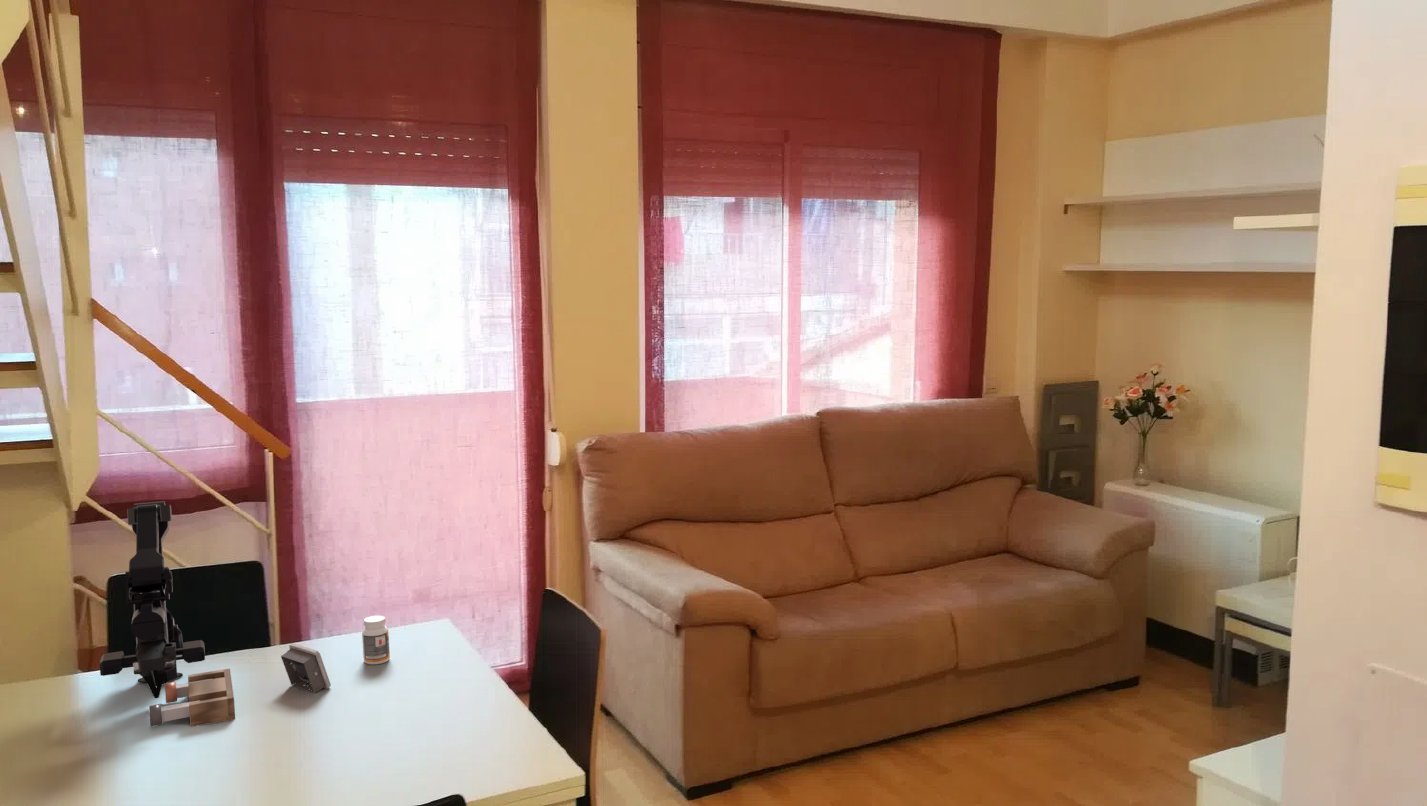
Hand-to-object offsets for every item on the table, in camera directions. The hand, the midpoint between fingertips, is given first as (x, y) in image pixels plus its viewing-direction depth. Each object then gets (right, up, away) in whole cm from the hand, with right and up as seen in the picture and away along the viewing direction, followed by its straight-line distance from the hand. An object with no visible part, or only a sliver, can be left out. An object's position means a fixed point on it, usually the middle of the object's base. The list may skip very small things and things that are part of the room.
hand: (156, 697), depth 217 cm
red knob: (+5, -1, +3) cm, 6 cm away
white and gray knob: (+8, -2, -8) cm, 12 cm away
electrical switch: (+27, -1, +9) cm, 29 cm away
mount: (+11, -2, 0) cm, 12 cm away
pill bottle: (+37, +1, +24) cm, 44 cm away
